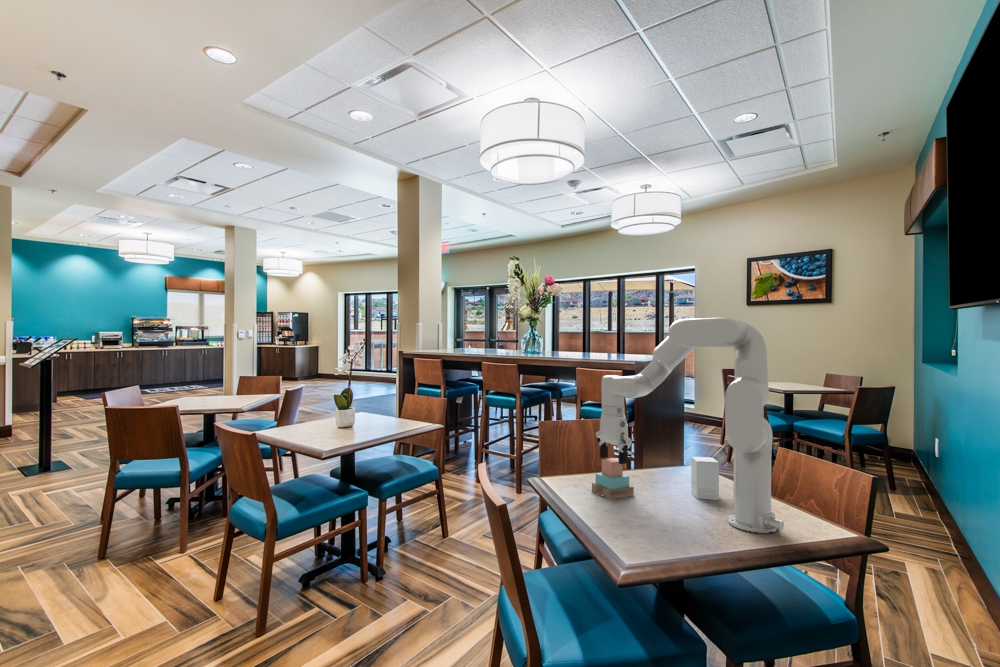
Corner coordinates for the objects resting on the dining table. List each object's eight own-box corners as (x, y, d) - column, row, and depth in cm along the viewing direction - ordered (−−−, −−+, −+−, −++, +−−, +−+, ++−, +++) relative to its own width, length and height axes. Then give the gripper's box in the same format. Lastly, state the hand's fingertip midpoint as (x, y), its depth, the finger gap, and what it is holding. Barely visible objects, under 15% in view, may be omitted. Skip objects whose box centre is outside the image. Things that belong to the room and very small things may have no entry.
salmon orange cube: (622, 475, 161) (622, 461, 161) (611, 477, 159) (611, 462, 159) (612, 472, 166) (612, 457, 166) (601, 473, 163) (601, 459, 163)
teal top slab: (629, 486, 160) (629, 476, 161) (612, 490, 156) (612, 479, 156) (612, 480, 167) (612, 470, 167) (595, 483, 163) (595, 473, 163)
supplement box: (719, 500, 156) (719, 462, 156) (696, 498, 157) (696, 461, 157) (713, 493, 163) (713, 457, 164) (690, 492, 164) (690, 456, 165)
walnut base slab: (633, 497, 160) (633, 487, 160) (611, 501, 155) (611, 490, 155) (613, 489, 169) (613, 479, 169) (591, 492, 164) (591, 482, 164)
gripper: (639, 413, 157) (639, 464, 156) (604, 407, 172) (605, 454, 171) (621, 414, 153) (622, 467, 153) (588, 408, 169) (588, 456, 168)
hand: (613, 460), depth 162 cm, fingers open, 9 cm apart
